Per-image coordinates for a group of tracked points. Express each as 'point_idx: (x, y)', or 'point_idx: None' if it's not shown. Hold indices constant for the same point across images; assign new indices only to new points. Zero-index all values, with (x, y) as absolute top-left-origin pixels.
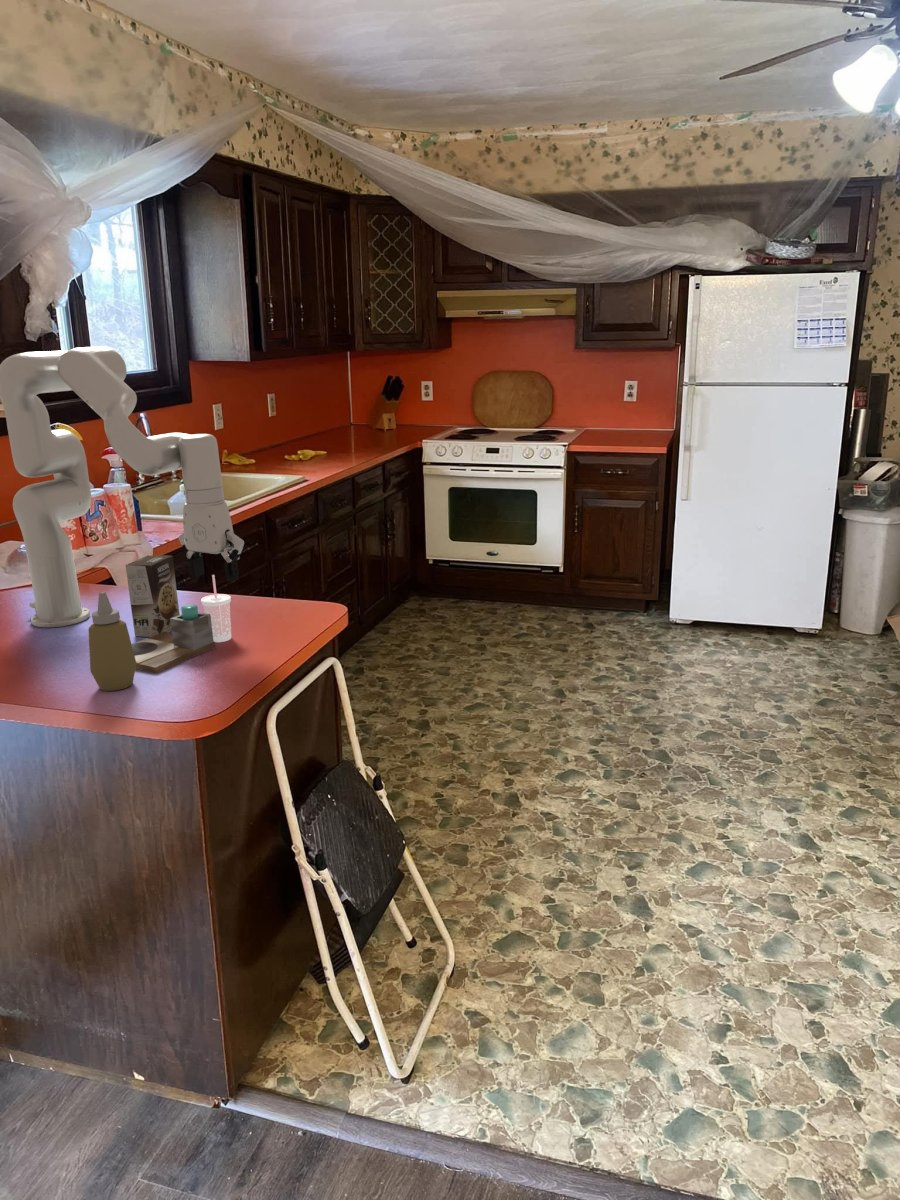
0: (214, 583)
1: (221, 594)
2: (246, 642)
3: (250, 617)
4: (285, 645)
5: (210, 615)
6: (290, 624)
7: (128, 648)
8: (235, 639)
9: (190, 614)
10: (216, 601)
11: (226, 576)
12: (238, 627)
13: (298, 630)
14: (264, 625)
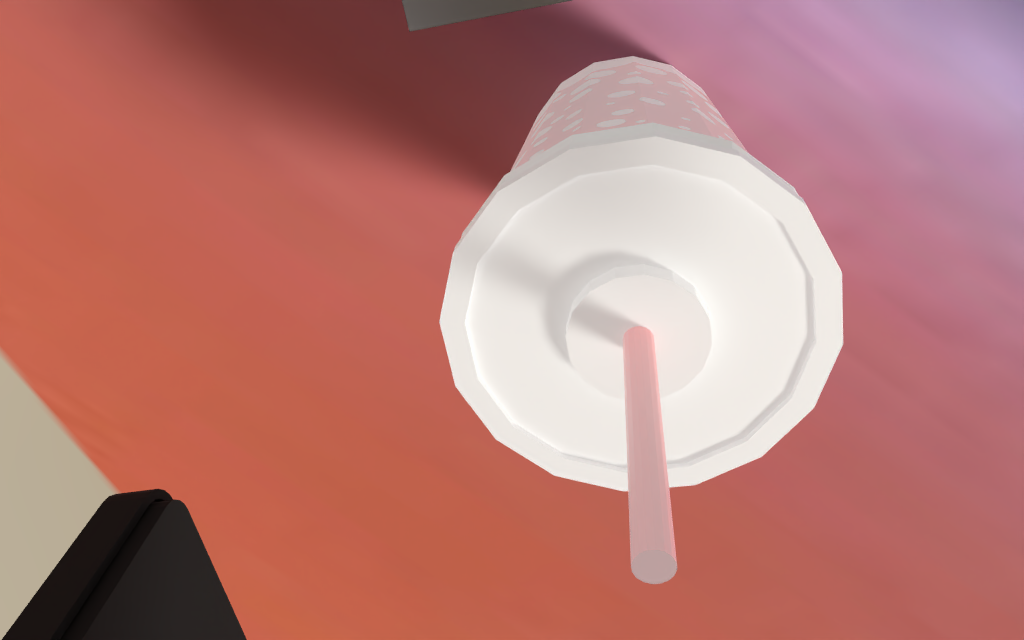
0: (629, 458)
1: (716, 464)
2: (364, 217)
3: (825, 572)
4: (90, 331)
5: (412, 26)
6: (449, 600)
7: None
8: None
9: None
10: (529, 263)
11: (107, 546)
12: None
13: (303, 553)
14: (585, 514)
